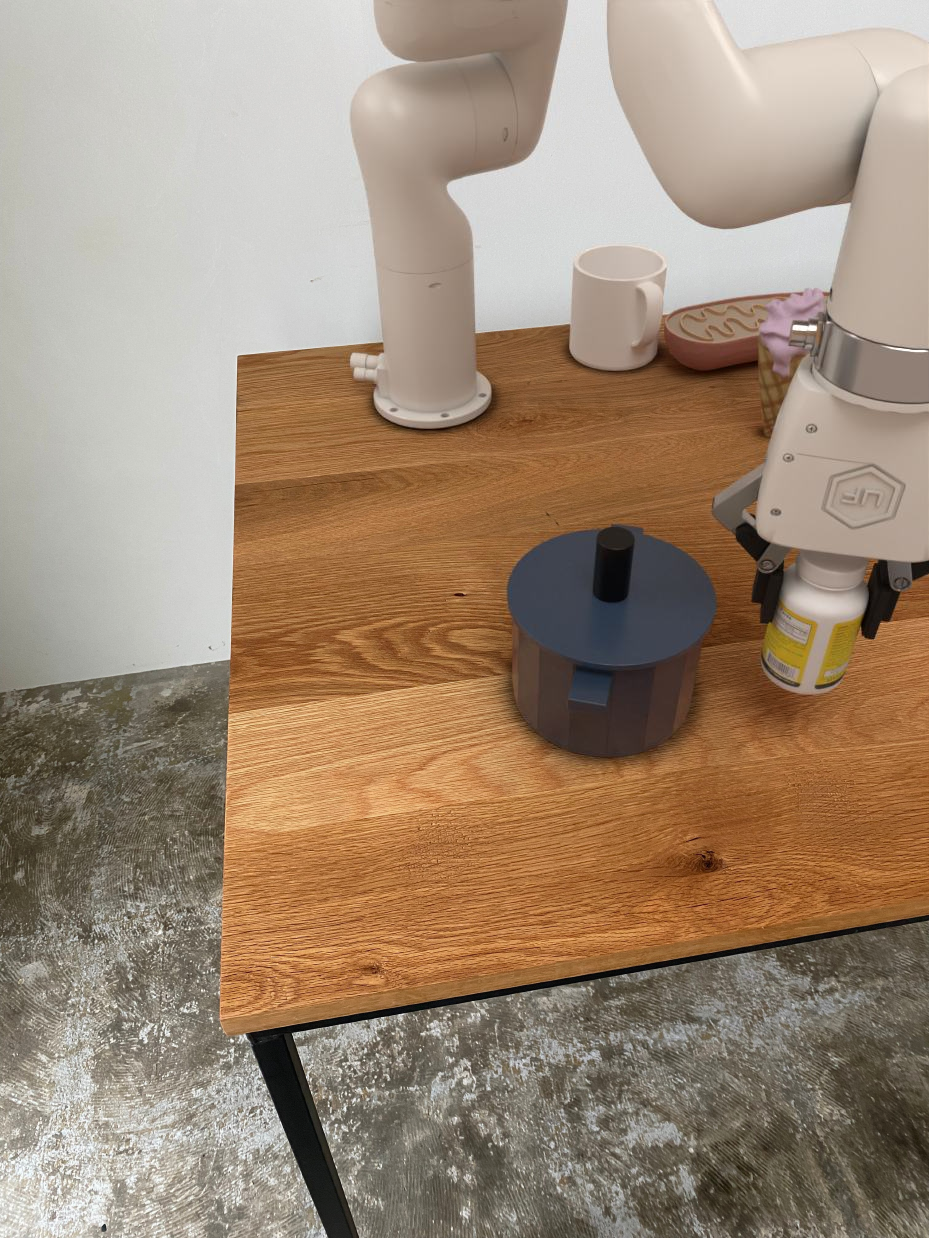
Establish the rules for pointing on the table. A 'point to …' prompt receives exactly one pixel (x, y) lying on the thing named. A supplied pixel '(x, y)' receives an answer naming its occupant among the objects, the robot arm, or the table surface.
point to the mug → (616, 306)
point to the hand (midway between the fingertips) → (816, 614)
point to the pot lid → (611, 599)
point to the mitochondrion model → (719, 330)
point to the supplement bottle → (815, 622)
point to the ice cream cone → (781, 350)
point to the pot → (601, 699)
